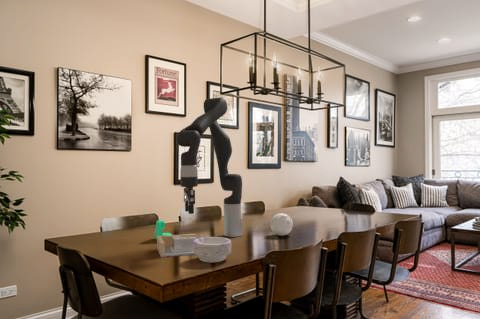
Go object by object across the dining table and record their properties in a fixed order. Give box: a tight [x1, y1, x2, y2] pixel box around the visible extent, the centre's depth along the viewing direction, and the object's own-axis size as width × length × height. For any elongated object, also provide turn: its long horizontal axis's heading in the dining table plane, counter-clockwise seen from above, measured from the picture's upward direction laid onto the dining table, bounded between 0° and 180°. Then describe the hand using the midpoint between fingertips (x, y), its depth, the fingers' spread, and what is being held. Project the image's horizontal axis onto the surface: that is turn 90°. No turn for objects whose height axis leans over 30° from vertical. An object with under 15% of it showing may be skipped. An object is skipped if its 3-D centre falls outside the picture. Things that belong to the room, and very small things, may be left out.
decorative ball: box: [270, 212, 294, 237], centre depth 200 cm, size 12×12×12 cm
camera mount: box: [154, 219, 173, 241], centre depth 190 cm, size 12×8×10 cm, turn 25°
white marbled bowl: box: [193, 236, 232, 264], centre depth 149 cm, size 15×15×8 cm
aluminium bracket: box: [172, 236, 198, 251], centre depth 165 cm, size 10×8×5 cm
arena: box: [156, 233, 198, 258], centre depth 164 cm, size 18×16×6 cm
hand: (189, 212), depth 164 cm, fingers open, 8 cm apart
